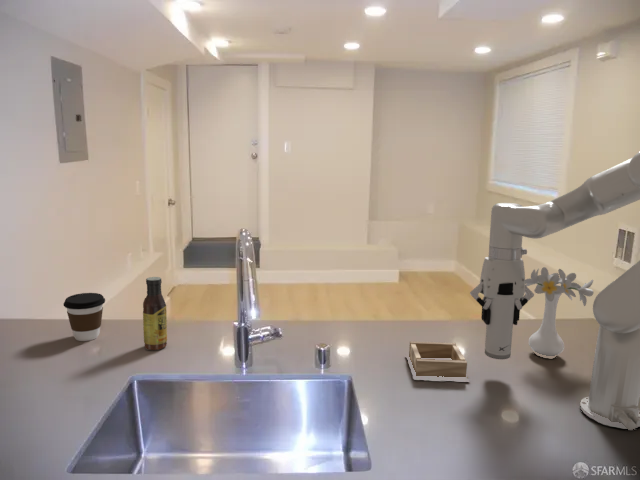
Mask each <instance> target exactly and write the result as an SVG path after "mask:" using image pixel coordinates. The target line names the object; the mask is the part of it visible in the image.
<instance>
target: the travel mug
mask: <svg viewBox="0 0 640 480" xmlns="http://www.w3.org/2000/svg"><path fill="white" fill-rule="evenodd" d="M515 285H516V282H515ZM512 291H513V283H507V284H499V288H498V292H497V295H496V296H497V297H496V298H495V299H492V302H491V304H490V306H489V309H490V324H489V325H486V330H485V343H484V355H485V356H487V357H489V358H490V359H494V360H508V359H509V358H511V355H512V354H511V352H512V340H513V330H514V329H513V328H514V326H513V325H514V324H513V317H514V304H515V299H514V297H513V296H514V295H513V292H512Z"/></svg>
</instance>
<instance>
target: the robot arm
mask: <svg viewBox="0 0 640 480" xmlns="http://www.w3.org/2000/svg"><path fill="white" fill-rule="evenodd" d="M638 201H640V151H638V152H636V154H634V155H633V157H630V158H629V159H627V160H624V161H622V162H621V163H618V164H616V165H613V166H612V167H610V168H608V169H604V170H603V171H600V172H599V173H596V174H594V175H592V176H590V177H588V178H587V179H586V180H585V181H584V182H583V183H582V184H581V185H580V186H578V187H577V188H575V189H573V190H572V191H569V192H567V193H565V194H563V195H560V196H559V197H557V198H554V199H552V200H550V201H547V202H545V203H541V204H535V205H532V206H531V205H529V206H523V205H522V204H519V203H513V202H499V203H495V204H493V206H492V207H491V211H490V212H491V213H490V229H489V241H488V242H489V243H488V256H485V257H484V258H483V263H482V266H481V267H482V268H481V273H480V279H479V284H478V285H477V286H476V287H474V288H473V289H472V290H471V291H470V292H469V294H470V296H471V297H472V298H473V299H474V300H475V301H476V302H477V303H478V304H479V305H480V307H481V321H482V322H483V323H484V324H485V325H486V326H487V325H489V324H490V309H489V306H490V304H491V302H492V299H495V298H496V297H497V296H496V295H497V292H498V288H499V284H507V283H513V291H512V292H513V295H514V296H513V297H514V299H515V304H514V317H513V325H514V326H517V325H518V321H520V313H521V310H522V309H523V307H524V306H526V304H528V302H529V301H531V299H532V298H533V297H535V293H534V292H533V291H532V290H531V289H530V288H529V286H526V284H525V280H526V271H525V263H524V259H522V257H523V255H527V253H528V250H527V248H523V246H522V245H523V237H525V238H528V239H529V238H530V239H542V238H545V237H547V236H550V235H553V234H555V233H558V232H560V231H563V230H565V229H568V228H570V227H572V226H575V225H576V224H579V223H582V222H584V221H586V220H588V219H591V218H594V217H597V216H602V215H606V214H608V213H611V212H614V211H617V210H618V209H621V208H623V207H626V206H628V205H630V204H632V203H635V202H638ZM515 282H516V285H515ZM479 294H482V295H483V298H481V297H480V296H479ZM592 312H593V313H592V314H593V316H594V319H595V321H596V322H597V324H599V327H598V332H597V333H598V334H597V338H596V343H595V344H596V345H595V350H594V351H595V352H594V357H593V358H594V359H593V365H592V371H591V372H592V373H591V378H590V384H589V392H588V396H586V397H582V399H581V400H580V401H581V402H579V407H580V406H581V408H582V409H583V410H584V411H586V412H587V413H589V414H590V415H592V416H594V415H593V414H591V413H590V412H594V413H596V414H598V415H600V416H602V417H605V418H608V419H609V420H610V421H611V422H619V423H622V424H623V425H624V426H625V427H626V428H627V429H628V431H634V430H636V429H635V427H636V426H640V418H638V417H640V414H639V412H640V407H639V402H640V260H638V261H637V262H636V263H634V264H633V265H632V266H631V267H629V269H627V270H626V271H625V272H623V273H622V274H621V275H620V276H618V278H616V279H615V280H613V281H611V282H610V283H609V284H608V285H606V286H605V287H604V288H603V289H602V290H601V291H599V293H598V294H597V295H596V297H595V299H594V300H593V304H592ZM586 398H588V399H586ZM587 401H588V402H587ZM582 402H585V403H586V404H583V403H582ZM594 417H595V416H594ZM633 429H634V430H633Z"/></svg>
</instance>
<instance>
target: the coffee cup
mask: <svg viewBox="0 0 640 480" xmlns="http://www.w3.org/2000/svg"><path fill="white" fill-rule="evenodd" d="M105 302H106V298H105V297H104V296H103V295H102V293H98V292H81V293H76V294H73V295H70V296H68V297H66V298H65V299H64V302H63V306H64V308H65V309H66V313H67V317H68V320H69V325H70V329H71V330H72V335H73V337H74V338H75V340H76V341H78V342H89V341H92V340H94V339H97V338H99V335H100V332H101V326H102V319H103V311H104V307H103V305H104V304H105Z"/></svg>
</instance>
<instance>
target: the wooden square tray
mask: <svg viewBox="0 0 640 480" xmlns="http://www.w3.org/2000/svg"><path fill="white" fill-rule="evenodd" d="M408 348H409V349H408V354H409V357H410V360H411V362H412V365H413V368H414V370H415V372H416V376H437V377H439V376H442V377H443V376H444V377H466V374H467V369H468V361H467V360H466V358H465V357H464V354H463V353H462V351H461V349H459V347H458V345H457V344H456V342H445V341H444V342H440V341H439V342H438V341H415V340H414V341H412V340H411V341H409V347H408ZM421 358H451V359H452V360H435V359H421Z"/></svg>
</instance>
